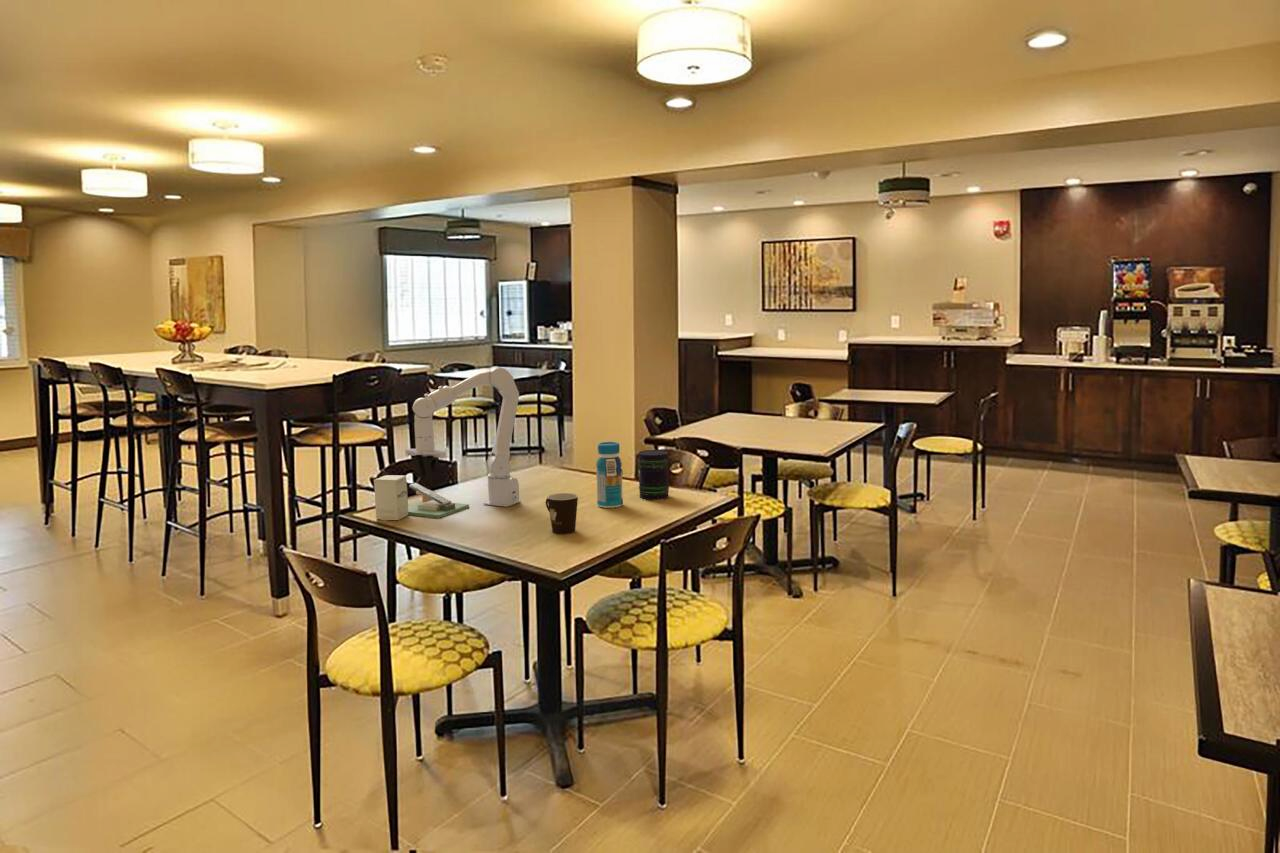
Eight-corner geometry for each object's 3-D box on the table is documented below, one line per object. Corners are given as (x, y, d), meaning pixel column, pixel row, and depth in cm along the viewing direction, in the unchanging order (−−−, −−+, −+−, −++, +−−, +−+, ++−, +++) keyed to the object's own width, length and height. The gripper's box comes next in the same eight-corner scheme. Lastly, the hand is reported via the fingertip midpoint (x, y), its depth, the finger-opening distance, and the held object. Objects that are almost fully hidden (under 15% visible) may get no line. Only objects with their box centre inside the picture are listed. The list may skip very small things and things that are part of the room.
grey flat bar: (450, 503, 267) (451, 501, 266) (443, 505, 263) (444, 503, 263) (415, 484, 272) (416, 482, 272) (408, 487, 269) (408, 484, 268)
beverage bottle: (591, 507, 268) (590, 444, 265) (605, 501, 275) (603, 440, 273) (615, 509, 264) (613, 446, 261) (628, 503, 272) (626, 442, 269)
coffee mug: (582, 533, 237) (581, 498, 236) (551, 536, 235) (550, 501, 234) (573, 523, 248) (572, 490, 247) (544, 526, 246) (542, 492, 245)
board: (469, 507, 271) (468, 500, 271) (438, 518, 258) (438, 510, 257) (424, 502, 279) (423, 495, 278) (392, 513, 265) (392, 505, 265)
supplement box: (398, 521, 255) (395, 480, 254) (375, 520, 257) (372, 479, 255) (409, 515, 262) (407, 475, 261) (387, 514, 264) (384, 474, 262)
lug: (434, 501, 276) (434, 489, 276) (424, 504, 272) (423, 492, 271) (427, 500, 278) (426, 488, 277) (416, 503, 273) (415, 491, 272)
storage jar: (633, 496, 282) (632, 452, 280) (656, 492, 288) (655, 448, 285) (651, 501, 274) (650, 456, 272) (675, 497, 280) (674, 452, 278)
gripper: (397, 437, 265) (400, 480, 267) (434, 439, 259) (437, 483, 260) (412, 433, 271) (415, 475, 273) (449, 436, 265) (451, 478, 267)
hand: (427, 479), depth 267 cm, fingers closed
